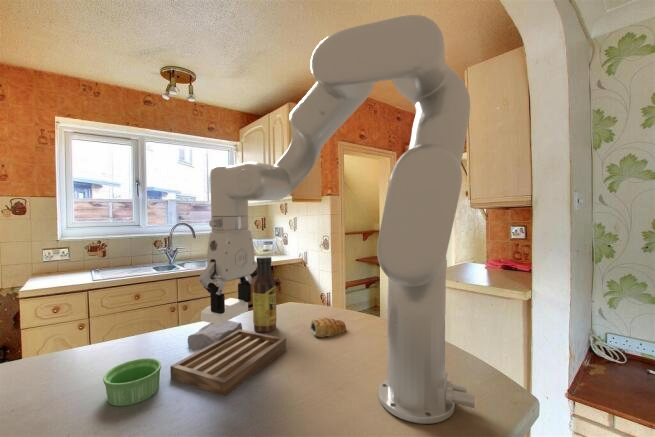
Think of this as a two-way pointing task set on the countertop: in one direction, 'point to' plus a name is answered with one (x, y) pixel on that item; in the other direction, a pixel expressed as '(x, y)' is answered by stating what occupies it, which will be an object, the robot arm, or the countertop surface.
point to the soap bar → (231, 310)
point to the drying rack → (228, 361)
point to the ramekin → (132, 381)
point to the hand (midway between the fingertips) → (231, 306)
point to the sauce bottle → (264, 296)
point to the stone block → (212, 334)
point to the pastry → (327, 327)
